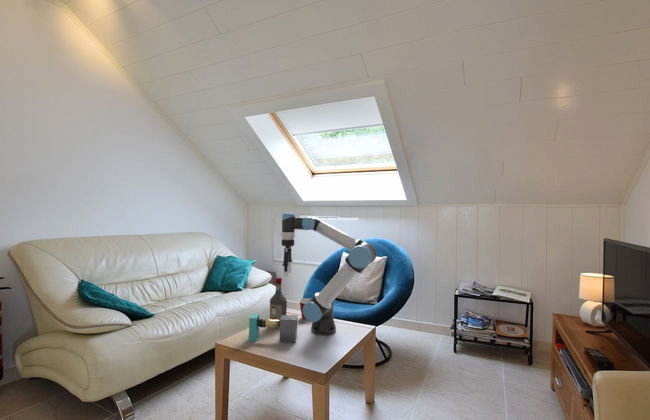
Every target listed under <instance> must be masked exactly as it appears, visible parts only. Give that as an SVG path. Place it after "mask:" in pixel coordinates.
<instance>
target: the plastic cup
mask: <svg viewBox="0 0 650 420" xmlns="http://www.w3.org/2000/svg"><path fill="white" fill-rule="evenodd" d="M310 299H311V298H299V300H298V301H299V305H300V306H299V307H300V314H301V319H303V320H307V319H306V318H305V317H304V315H303V306H304V305H305V303H307V302H309V301H310Z"/></svg>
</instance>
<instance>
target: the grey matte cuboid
mask: <svg viewBox="0 0 650 420" xmlns="http://www.w3.org/2000/svg"><path fill="white" fill-rule="evenodd" d="M278 339H279V340H278V341H279V343H285V344H286V343H288V344H289V343H290V344H291V343H292V344H293V343H294V344H295V343H296V342H297V339H298V315H296V314H295V315H294V314H286V315H282V316H281V318H280V328H279V338H278Z"/></svg>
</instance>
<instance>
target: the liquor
mask: <svg viewBox="0 0 650 420" xmlns="http://www.w3.org/2000/svg"><path fill="white" fill-rule="evenodd" d="M282 279H283V278H282V277H276V278H275V293H274V294H273V295H272V296H271V298H270V300H269V320H280V318H281V316H282V315H287V311H288V310H287V307H288V306H287V305H288V304H287V302H288V301H287V300H288V299H287V298H286V297H285V295H284V294H283V292H282V283H283V281H282ZM272 328H275V329H280V327H272Z"/></svg>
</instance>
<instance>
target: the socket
mask: <svg viewBox="0 0 650 420" xmlns="http://www.w3.org/2000/svg"><path fill="white" fill-rule="evenodd" d="M257 319H260V313H252V314H251V315H250V316H249V317H248V342H250V343H251V342H253V343H256V342H257V341H258V339H259V337H260V327H257Z"/></svg>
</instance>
